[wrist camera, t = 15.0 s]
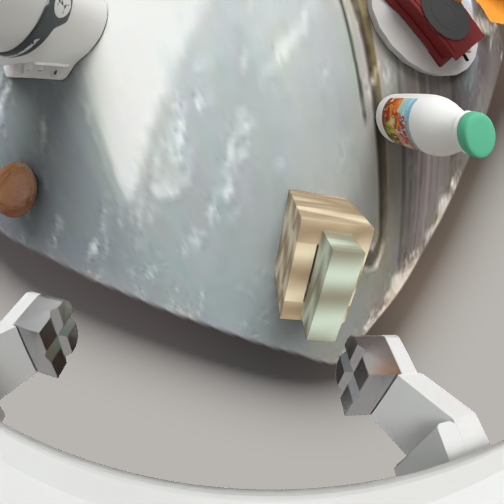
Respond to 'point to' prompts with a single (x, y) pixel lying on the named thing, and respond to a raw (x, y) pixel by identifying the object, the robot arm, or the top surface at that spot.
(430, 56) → the gramophone
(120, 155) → the top surface
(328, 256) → the rail end
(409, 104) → the milk bottle
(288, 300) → the wooden square frame
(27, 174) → the onion
